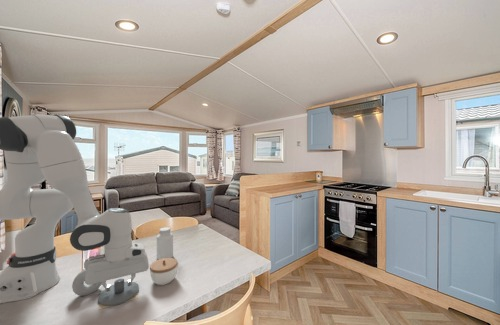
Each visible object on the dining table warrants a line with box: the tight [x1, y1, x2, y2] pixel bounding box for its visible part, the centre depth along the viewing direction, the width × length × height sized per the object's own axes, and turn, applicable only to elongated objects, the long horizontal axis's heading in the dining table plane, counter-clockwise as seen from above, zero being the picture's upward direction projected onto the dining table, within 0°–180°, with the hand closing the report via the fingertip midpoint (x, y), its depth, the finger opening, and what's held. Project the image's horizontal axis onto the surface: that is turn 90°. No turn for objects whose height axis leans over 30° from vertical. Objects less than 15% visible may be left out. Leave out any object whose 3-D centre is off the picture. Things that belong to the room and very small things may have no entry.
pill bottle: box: [156, 226, 174, 260], centre depth 111 cm, size 8×8×15 cm
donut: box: [71, 269, 102, 297], centre depth 82 cm, size 10×4×10 cm, turn 141°
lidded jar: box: [149, 257, 179, 286], centre depth 90 cm, size 11×11×9 cm
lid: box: [97, 278, 140, 307], centre depth 81 cm, size 13×13×5 cm
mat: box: [98, 281, 139, 310], centre depth 81 cm, size 12×12×1 cm
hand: (119, 287), depth 81 cm, fingers open, 6 cm apart
